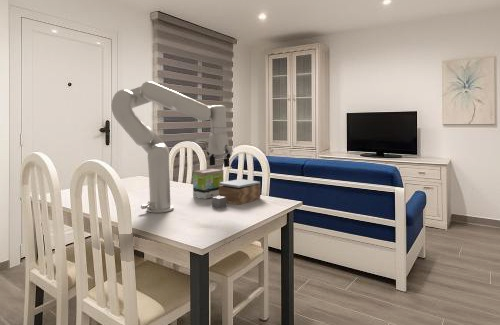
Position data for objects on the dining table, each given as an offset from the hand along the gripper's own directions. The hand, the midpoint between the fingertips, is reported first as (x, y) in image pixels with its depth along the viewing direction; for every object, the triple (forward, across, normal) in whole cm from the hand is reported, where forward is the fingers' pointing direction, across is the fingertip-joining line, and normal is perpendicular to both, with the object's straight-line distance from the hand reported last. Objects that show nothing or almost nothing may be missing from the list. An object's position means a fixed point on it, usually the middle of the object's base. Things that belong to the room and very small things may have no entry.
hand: (219, 165), depth 170 cm
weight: (+21, 0, 0) cm, 21 cm away
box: (+21, -2, +18) cm, 27 cm away
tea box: (+21, -22, +14) cm, 33 cm away
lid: (+12, -2, +18) cm, 22 cm away
